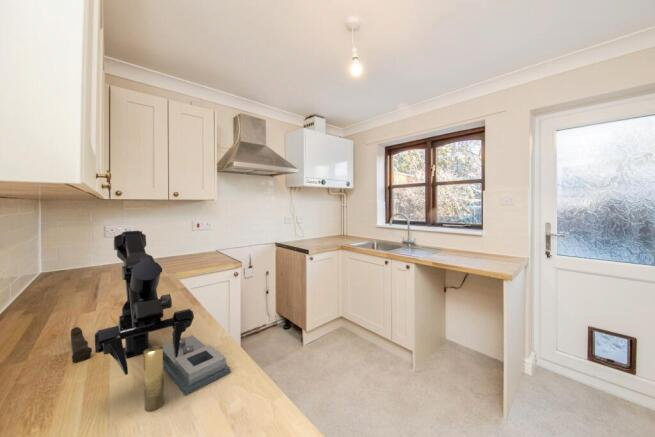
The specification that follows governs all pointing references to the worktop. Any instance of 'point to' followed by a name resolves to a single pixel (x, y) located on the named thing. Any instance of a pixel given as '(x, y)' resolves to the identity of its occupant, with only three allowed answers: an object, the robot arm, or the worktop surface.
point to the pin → (153, 378)
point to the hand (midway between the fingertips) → (153, 364)
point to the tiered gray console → (193, 364)
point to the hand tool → (79, 346)
